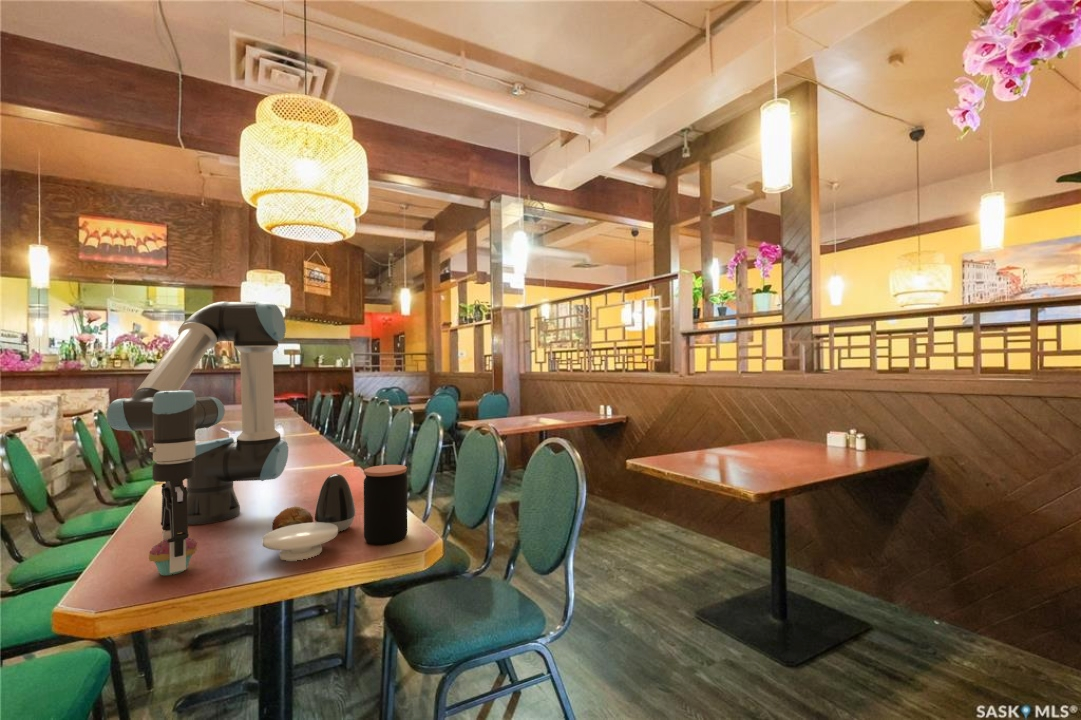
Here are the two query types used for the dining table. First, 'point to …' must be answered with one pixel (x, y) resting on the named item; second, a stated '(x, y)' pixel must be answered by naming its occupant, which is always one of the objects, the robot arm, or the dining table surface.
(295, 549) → the cake stand
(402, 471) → the coffee jar
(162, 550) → the cupcake
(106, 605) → the dining table surface
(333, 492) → the black egg shaped dome
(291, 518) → the bread roll
